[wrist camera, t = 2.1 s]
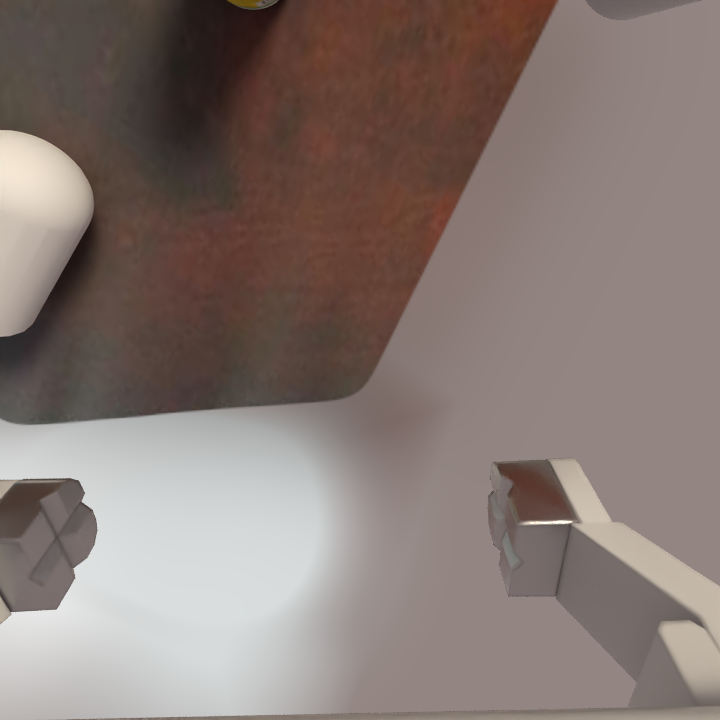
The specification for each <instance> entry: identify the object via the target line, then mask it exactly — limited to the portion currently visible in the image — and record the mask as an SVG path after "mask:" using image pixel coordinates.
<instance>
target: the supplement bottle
mask: <svg viewBox="0 0 720 720" xmlns="http://www.w3.org/2000/svg"><path fill="white" fill-rule="evenodd" d="M227 1H228V2H230V3H232V4H234V5H236V6H238V7H241V8H245V9H253V10H255V9H263V8H266V7H269V6H271V5H273V4H274V3H276V2H277V1H279V0H227Z"/></svg>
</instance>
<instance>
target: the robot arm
mask: <svg viewBox="0 0 720 720" xmlns="http://www.w3.org/2000/svg"><path fill="white" fill-rule="evenodd" d="M490 480H491V483H492V486H493V489H494V490H493V491H492V492H491V494H489V496H488V522H489V528H490V533H491V537H492V541H493V545H494V546H495V547H497V548H498V549H499V550H500V561H499V566H500V570H501V573H502V577H503V580H504V583H505V587H506V590H507V594H508V596H556V599H557V600H558V601H559V602H560V603H561V604H562V605H563V606H564V608H565V609H566V610H567V611H569V613H570V614H571V615H572V616H573V617H574V618H575V619H576V620H577V621H578V622H579V623H580V624H581V625H582V626H583V627H584V628H585V629H586V630H587V631H588V632H589V633H590V635H591V636H592V637H593V638H594V639H595V640H596V641H597V642H598V643H599V644H600V645H601V646H602V647H603V648H604V649H605V650H606V651H607V652H608V653H609V654H610V655H611V656H612V657H613V658H614V659H615V660H616V661H617V662H618V664H619V665H620V666H621V667H622V668H623V669H624V670H625V671H626V672H627V673H628V674H629V675H630V676H631V677H632V678H633V679H634V680H635V681H636V682H637V684H636V686H635V689H634V692H633V694H632V697H631V699H630V702H629V705H628V707H627V708H592V709H590V708H589V709H541V710H496V711H495V710H493V711H447V712H400V713H399V712H397V713H353V714H352V713H350V714H304V715H257V716H213V717H212V716H209V717H166V718H165V717H163V718H117V719H72V720H720V587H719V586H718V585H717V584H715V583H713V582H712V581H710V580H709V579H707V578H706V577H704V576H703V575H701V574H700V573H698V572H696V571H695V570H693V569H692V568H690V567H689V566H687V565H686V564H684V563H683V562H681V561H680V560H678V559H677V558H675V557H673V556H672V555H670V554H669V553H667V552H666V551H664V550H662V549H661V548H660V547H658V546H657V545H655V544H654V543H652V542H651V541H649V540H648V539H646V538H644V537H643V536H641V535H640V534H638V533H637V532H635V531H633V530H632V529H630V528H629V527H628V526H626V525H625V524H623V523H621V522H612V521H611V519H610V517H609V515H608V514H607V512H606V510H605V509H604V507H603V505H602V504H601V502H600V500H599V498H598V496H597V495H596V493H595V492H594V489H593V488H592V486H591V484H590V482H589V481H588V479H587V477H586V476H585V474H584V472H583V470H582V469H581V467H580V465H579V463H578V462H577V461H576V460H575V459H574V458H559V459H546V460H530V461H509V462H493V464H492V467H491V475H490ZM84 494H85V492H84V491H83V488H82V486H81V484H80V482H79V481H78V480H74V479H71V478H66V479H23V480H0V624H1V623H2V622H3V621H5V620H6V619H7V618H8V617H9V616H10V615H11V612H21V611H38V610H55V609H57V608H58V606H59V605H60V603H61V601H62V599H63V598H64V596H65V594H66V593H67V591H68V589H69V588H70V586H71V584H72V582H73V581H74V579H75V574H74V569H73V568H74V567H76V566H77V565H78V564H80V563H81V562H82V561H83V560H85V559H86V558H87V557H88V555H89V554H90V552H91V550H92V548H93V546H94V543H95V538H96V534H97V523H96V518H95V515H94V513H93V510H92V509H90V508H89V507H88V506H86V505H85V504H84V503H82V502H81V501H82V499H83V496H84ZM69 720H71V719H69Z"/></svg>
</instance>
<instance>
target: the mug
mask: <svg viewBox="0 0 720 720" xmlns="http://www.w3.org/2000/svg"><path fill="white" fill-rule="evenodd" d="M93 212H94V199H93V192H92V189H91V187H90V184H89V182H88V180H87V178H86V177H85V175H84V173H83V172H82V170H81V169H80V168H79V167H78V165H77V164H76V163H75V162H74V161H73V160H72V159H71V158H70V157H69V156H68V155H67V154H65V153H64V152H63V151H61V150H60V149H59V148H57V147H55V146H54V145H52V144H50V143H49V142H47V141H45V140H43V139H41V138H38V137H36V136H33V135H30V134H26V133H22V132H17V131H11V130H0V337H3V336H12V335H15V334H18V333H21V332H24V331H25V330H26V329H28V328H29V327H30V326H31V325H32V324H33V323H34V321H35V319H36V317H37V316H38V314H39V312H40V310H41V309H42V307H43V305H44V303H45V301H46V300H47V298H48V296H49V294H50V293H51V291H52V289H53V287H54V286H55V284H56V282H57V280H58V278H59V277H60V275H61V273H62V271H63V270H64V268H65V266H66V264H67V263H68V261H69V259H70V257H71V255H72V254H73V252H74V250H75V248H76V247H77V245H78V243H79V241H80V240H81V238H82V236H83V234H84V232H85V231H86V229H87V227H88V225H89V224H90V221H91V219H92V216H93Z"/></svg>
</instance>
